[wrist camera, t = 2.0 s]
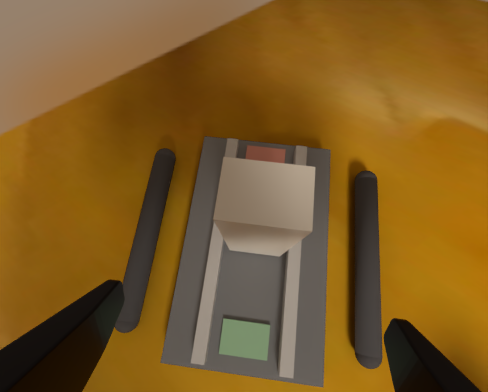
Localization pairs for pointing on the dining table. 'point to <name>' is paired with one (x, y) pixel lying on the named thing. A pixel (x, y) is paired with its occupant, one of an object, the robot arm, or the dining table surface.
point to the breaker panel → (251, 283)
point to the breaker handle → (264, 205)
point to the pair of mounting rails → (365, 258)
